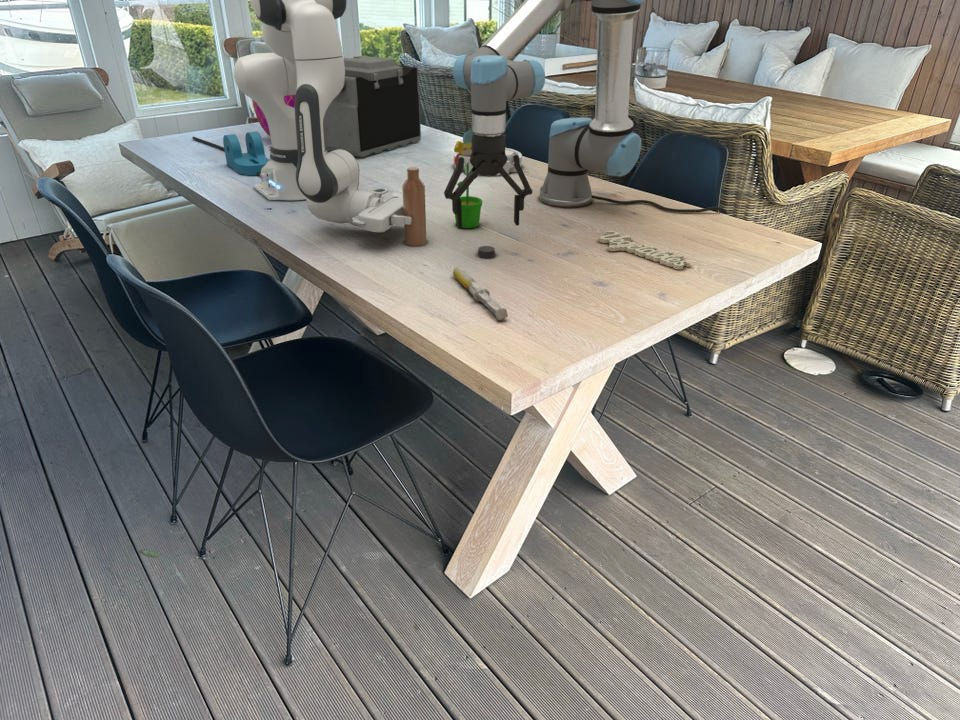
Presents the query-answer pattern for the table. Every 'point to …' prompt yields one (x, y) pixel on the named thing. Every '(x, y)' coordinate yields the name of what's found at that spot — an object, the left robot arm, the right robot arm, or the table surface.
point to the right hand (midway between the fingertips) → (488, 225)
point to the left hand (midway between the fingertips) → (418, 216)
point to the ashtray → (507, 167)
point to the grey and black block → (374, 108)
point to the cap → (486, 252)
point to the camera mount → (245, 161)
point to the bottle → (414, 208)
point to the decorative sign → (643, 250)
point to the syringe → (479, 293)
